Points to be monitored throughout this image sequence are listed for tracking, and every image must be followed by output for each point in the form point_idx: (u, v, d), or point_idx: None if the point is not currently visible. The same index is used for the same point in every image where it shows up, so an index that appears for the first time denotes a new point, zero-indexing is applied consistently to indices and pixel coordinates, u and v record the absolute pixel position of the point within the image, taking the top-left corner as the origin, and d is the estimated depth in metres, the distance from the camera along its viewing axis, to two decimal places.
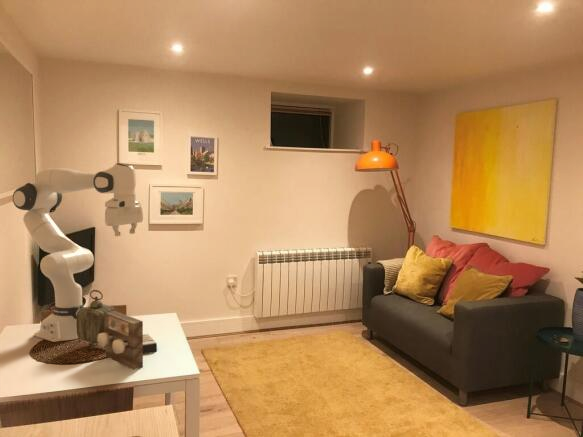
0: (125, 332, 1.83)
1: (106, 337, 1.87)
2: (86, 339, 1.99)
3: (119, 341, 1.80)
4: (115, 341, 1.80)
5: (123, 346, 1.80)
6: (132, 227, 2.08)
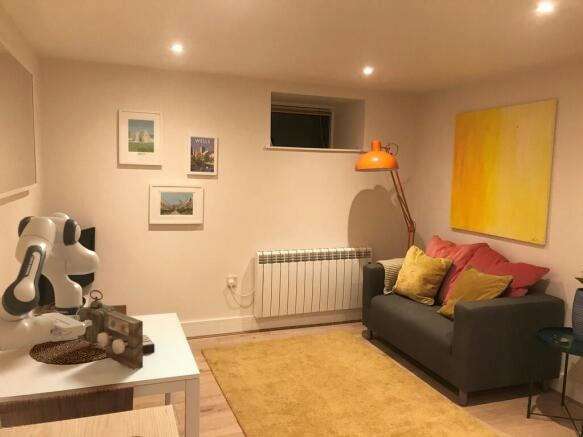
0: (125, 332, 1.83)
1: (106, 337, 1.87)
2: (86, 339, 1.99)
3: (119, 341, 1.80)
4: (115, 341, 1.80)
5: (123, 346, 1.80)
6: None
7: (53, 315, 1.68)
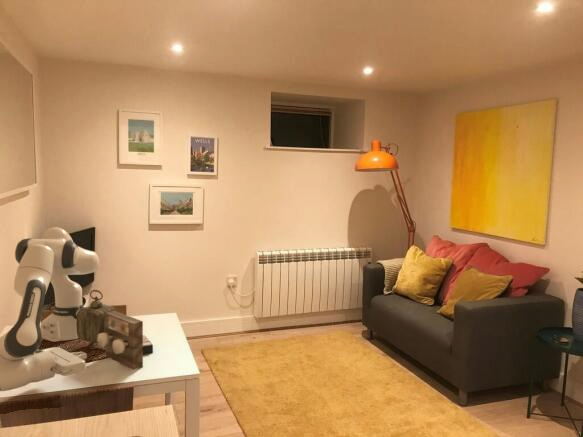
0: (125, 332, 1.83)
1: (106, 337, 1.87)
2: (86, 339, 1.99)
3: (119, 341, 1.80)
4: (115, 341, 1.80)
5: (123, 346, 1.80)
6: None
7: (53, 350, 1.69)
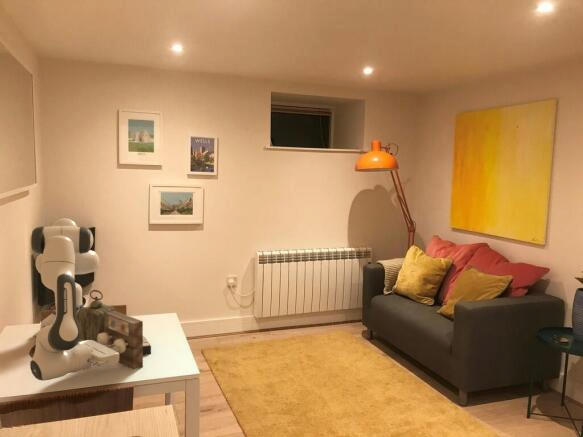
0: (125, 332, 1.83)
1: (106, 337, 1.87)
2: (86, 339, 1.99)
3: (120, 341, 1.80)
4: (116, 341, 1.81)
5: (124, 346, 1.80)
6: None
7: (88, 343, 1.79)
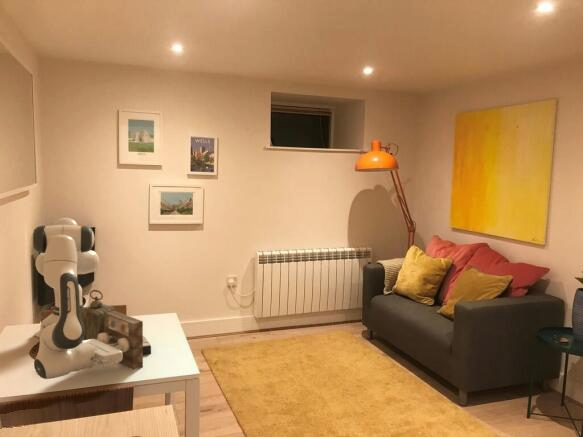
0: (125, 332, 1.83)
1: (106, 337, 1.87)
2: (86, 339, 1.99)
3: (124, 340, 1.82)
4: (120, 340, 1.82)
5: (128, 345, 1.82)
6: None
7: (91, 342, 1.80)
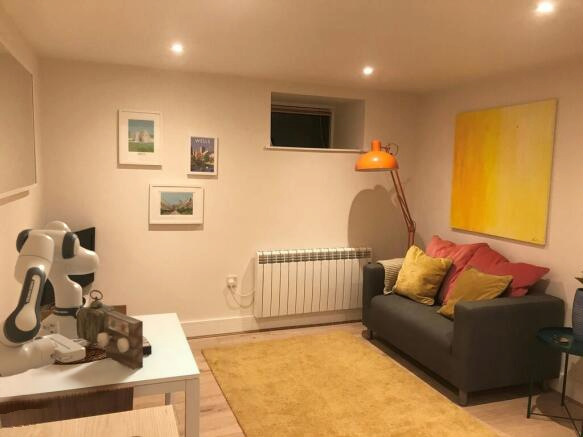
0: (125, 332, 1.83)
1: (106, 337, 1.87)
2: (86, 339, 1.99)
3: (124, 340, 1.82)
4: (120, 340, 1.82)
5: (128, 345, 1.82)
6: None
7: (53, 337, 1.69)
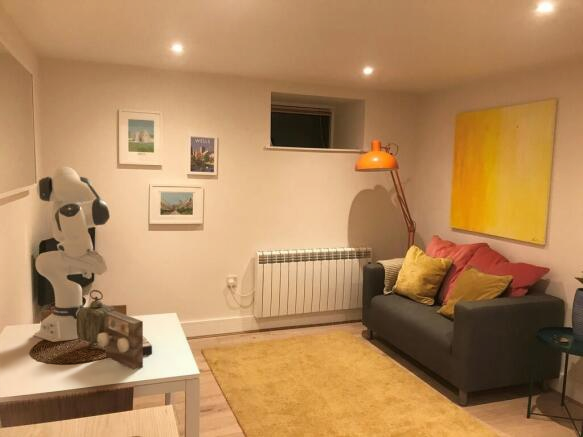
0: (125, 332, 1.83)
1: (106, 337, 1.87)
2: (86, 339, 1.99)
3: (124, 340, 1.82)
4: (120, 340, 1.82)
5: (128, 345, 1.82)
6: None
7: None
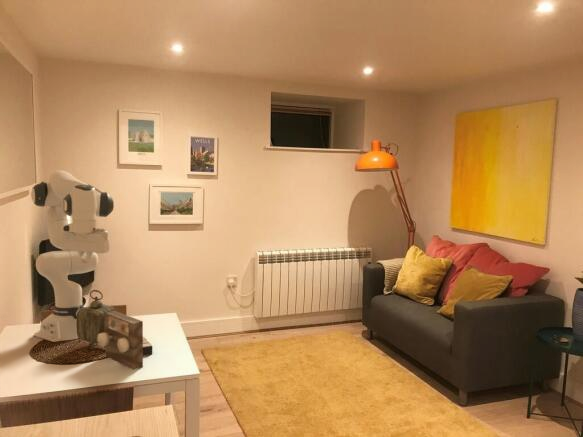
0: (125, 332, 1.83)
1: (106, 337, 1.87)
2: (86, 339, 1.99)
3: (124, 340, 1.82)
4: (120, 340, 1.82)
5: (128, 345, 1.82)
6: None
7: None
